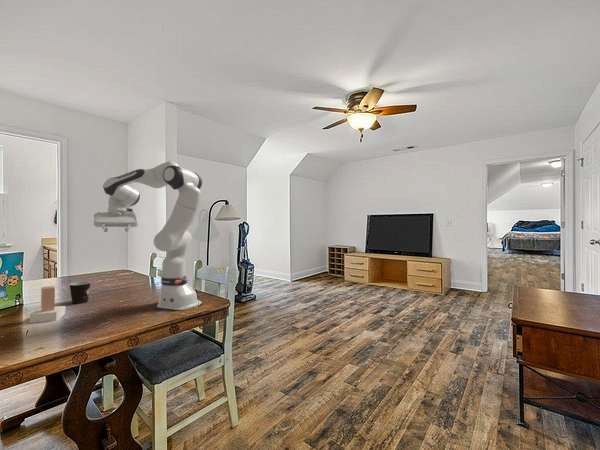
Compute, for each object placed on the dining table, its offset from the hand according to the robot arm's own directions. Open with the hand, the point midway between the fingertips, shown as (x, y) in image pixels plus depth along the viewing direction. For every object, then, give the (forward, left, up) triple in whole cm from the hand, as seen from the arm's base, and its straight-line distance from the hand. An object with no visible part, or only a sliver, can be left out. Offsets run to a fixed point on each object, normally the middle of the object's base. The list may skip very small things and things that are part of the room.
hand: (116, 231), depth 148 cm
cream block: (-1, +30, -38) cm, 48 cm away
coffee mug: (+13, +10, -37) cm, 41 cm away
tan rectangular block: (-2, +30, -34) cm, 45 cm away
